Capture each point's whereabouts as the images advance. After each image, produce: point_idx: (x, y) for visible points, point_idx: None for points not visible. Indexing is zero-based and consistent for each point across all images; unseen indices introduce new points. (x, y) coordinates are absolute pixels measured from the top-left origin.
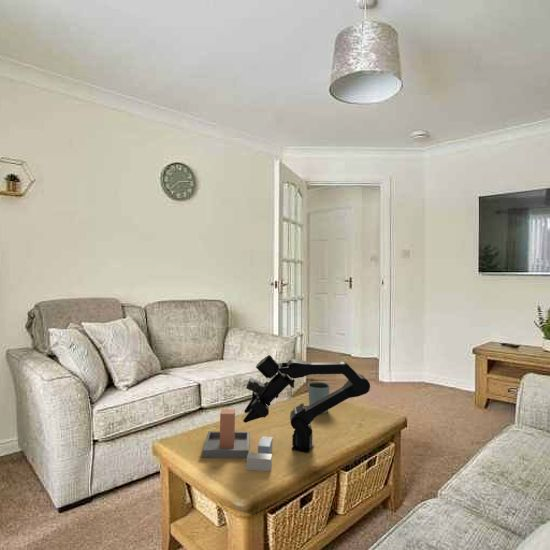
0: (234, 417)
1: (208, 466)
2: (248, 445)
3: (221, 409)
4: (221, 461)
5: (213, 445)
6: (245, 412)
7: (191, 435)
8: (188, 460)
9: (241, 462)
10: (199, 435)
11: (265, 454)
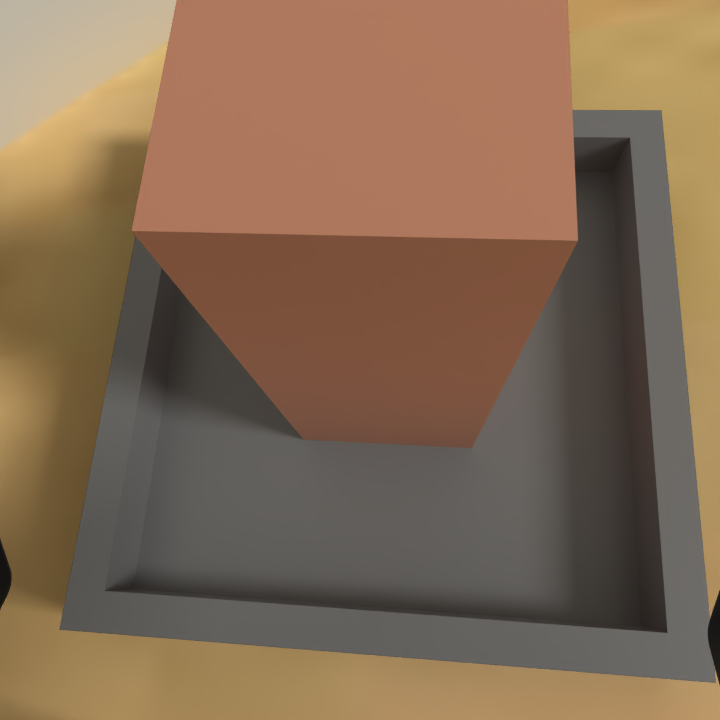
0: (323, 305)
1: (13, 225)
2: (205, 634)
3: None
4: (82, 329)
5: None
6: (718, 620)
7: (686, 8)
8: (154, 63)
9: (18, 534)
10: (695, 75)
11: None
